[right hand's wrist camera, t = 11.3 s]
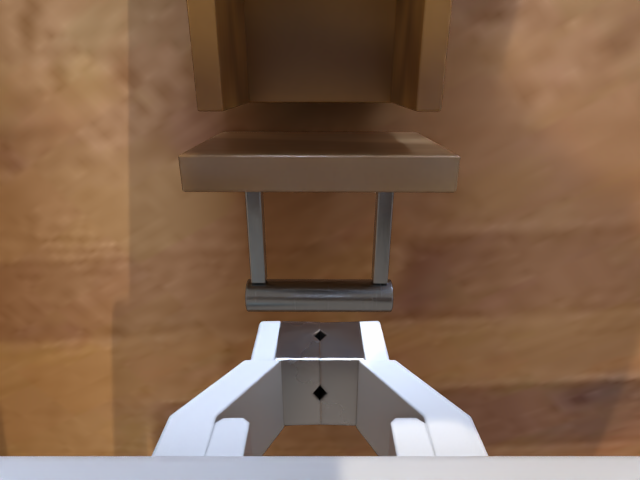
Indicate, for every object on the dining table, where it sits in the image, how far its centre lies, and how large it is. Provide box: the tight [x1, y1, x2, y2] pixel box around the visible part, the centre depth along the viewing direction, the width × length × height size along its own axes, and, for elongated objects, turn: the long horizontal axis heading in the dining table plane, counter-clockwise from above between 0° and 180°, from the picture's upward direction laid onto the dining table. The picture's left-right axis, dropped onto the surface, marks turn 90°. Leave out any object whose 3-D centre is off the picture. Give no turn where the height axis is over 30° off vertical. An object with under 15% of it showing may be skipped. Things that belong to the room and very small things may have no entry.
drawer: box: [178, 0, 460, 312], centre depth 14 cm, size 22×9×6 cm, turn 0°
